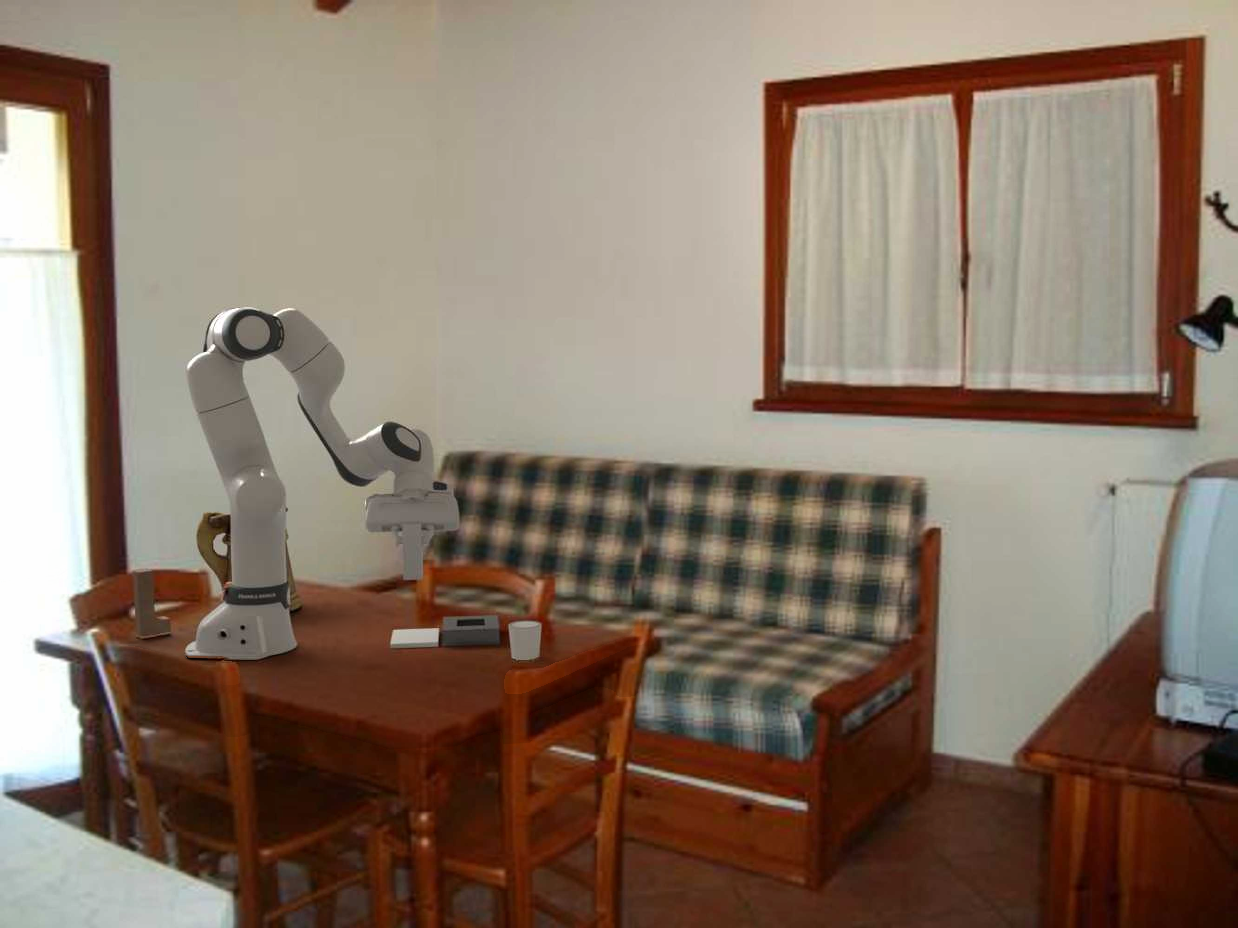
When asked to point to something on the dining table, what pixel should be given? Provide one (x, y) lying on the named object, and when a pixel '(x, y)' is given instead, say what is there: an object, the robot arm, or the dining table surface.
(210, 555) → the tankard
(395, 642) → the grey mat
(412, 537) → the steel peg
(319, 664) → the dining table surface
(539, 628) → the white cup
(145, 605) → the wooden block
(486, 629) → the metal socket
